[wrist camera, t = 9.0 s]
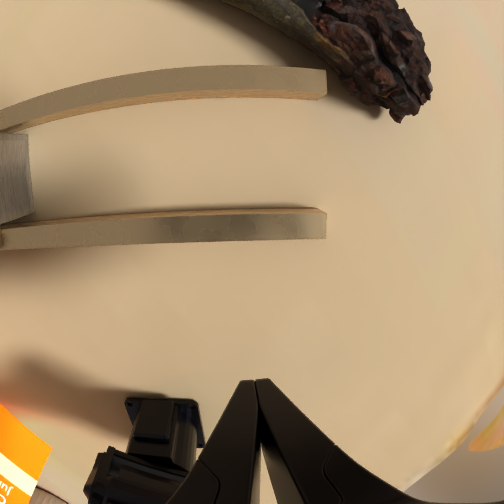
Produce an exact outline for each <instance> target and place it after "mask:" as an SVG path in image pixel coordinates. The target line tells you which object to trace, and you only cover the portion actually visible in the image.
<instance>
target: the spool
mask: <svg viewBox="0 0 504 504" xmlns="http://www.w3.org/2000/svg"><path fill="white" fill-rule="evenodd" d="M32 213H35V207H34V200H33V192H32V183H31V173H30V161H29V143H28V135H26V134H11V133H0V224H3V223H5V222H8V221H11V220H14V219H17V218H20V217H23V216H26V215H29V214H32Z"/></svg>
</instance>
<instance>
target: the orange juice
mask: <svg viewBox="0 0 504 504" xmlns="http://www.w3.org/2000/svg"><path fill="white" fill-rule="evenodd" d="M51 450H52V448H51V447H50V446H48V445H47V444H46V443H45V442H43V441H42V440H41V439H40V438H38V437H37V436H36V435H35V434H33V433H32V432H31V431H30V430H29V429H27V428H26V427H25V426H24V425H23V424H22V423H21V422H19V421H18V420H17V419H16V418H15V417H14V416H13V415H12V414H11V413H10V412H9V411H7V410H6V409H5V408H4V407H3V406H2V405H1V404H0V504H28V503H29V500H30V498H31V496H32V494H33V491H34V489H35V486H36V484H37V481H38V478H39V476H40V474H41V471H42V469H43V467H44V465H45V463H46V460H47V458H48V456H49V454H50V452H51Z"/></svg>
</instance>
